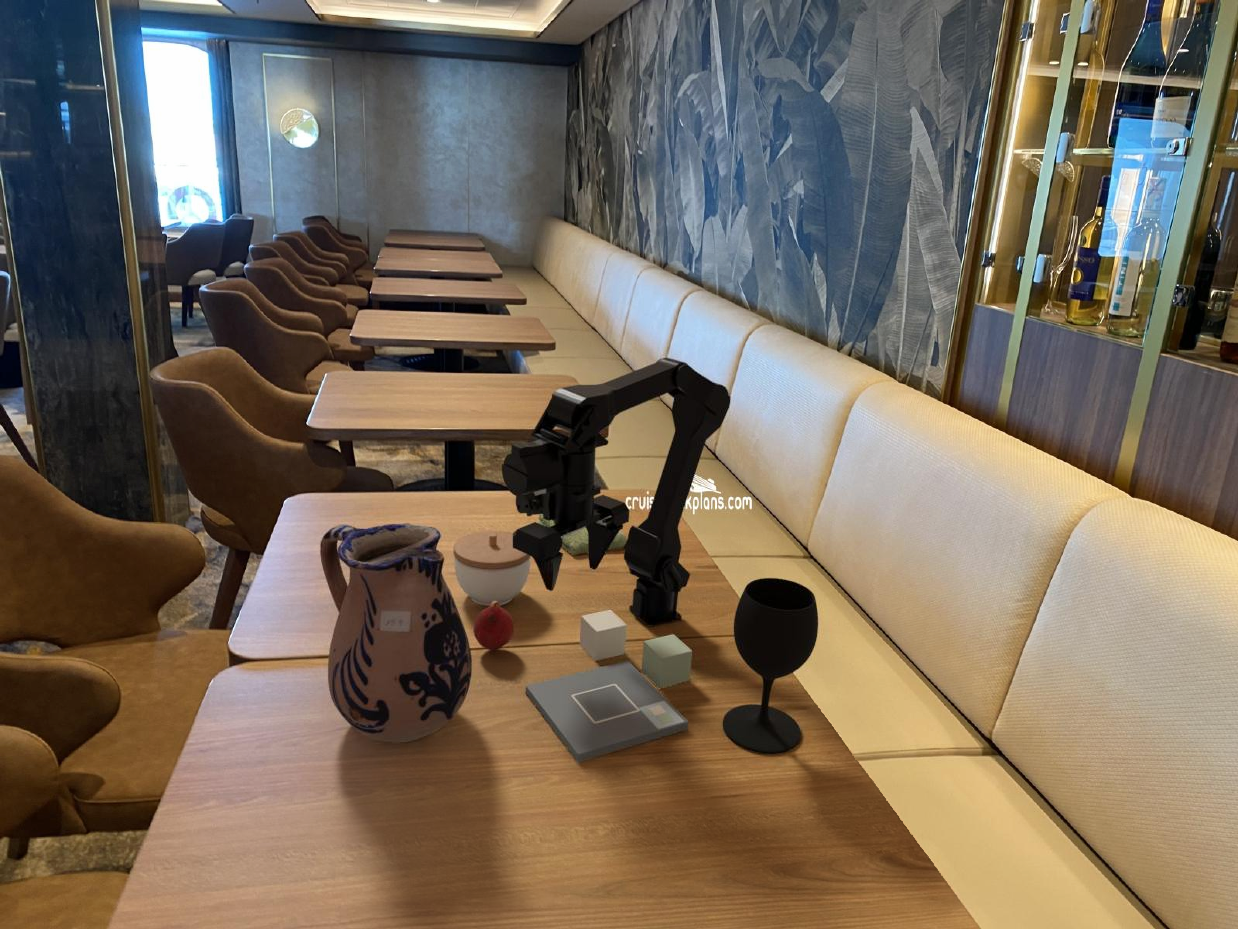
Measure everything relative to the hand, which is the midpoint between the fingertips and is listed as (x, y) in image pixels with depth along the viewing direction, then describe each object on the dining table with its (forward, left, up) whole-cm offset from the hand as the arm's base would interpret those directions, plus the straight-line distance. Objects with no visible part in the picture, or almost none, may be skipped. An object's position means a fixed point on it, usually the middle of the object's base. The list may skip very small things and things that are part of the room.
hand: (571, 578), depth 127 cm
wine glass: (-15, +28, -12) cm, 34 cm away
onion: (+10, -4, -12) cm, 16 cm away
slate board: (+2, +16, -12) cm, 20 cm away
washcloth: (-21, -37, -12) cm, 44 cm away
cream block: (-5, +2, -12) cm, 13 cm away
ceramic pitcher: (+28, +6, -12) cm, 31 cm away
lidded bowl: (+4, -20, -12) cm, 24 cm away
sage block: (-10, +12, -12) cm, 19 cm away
